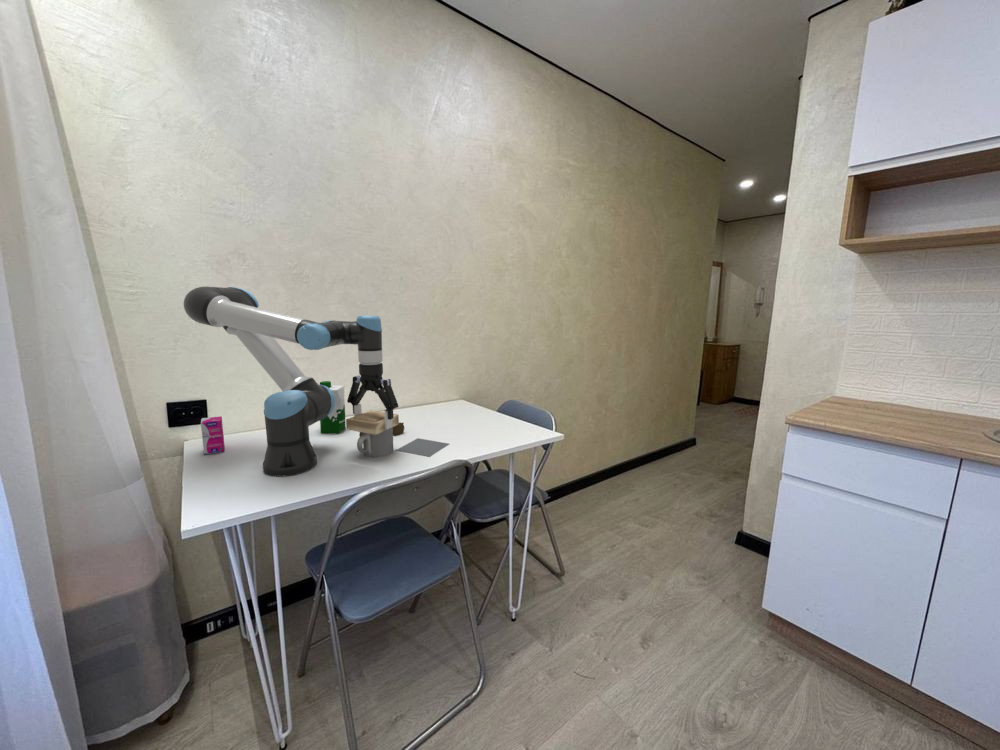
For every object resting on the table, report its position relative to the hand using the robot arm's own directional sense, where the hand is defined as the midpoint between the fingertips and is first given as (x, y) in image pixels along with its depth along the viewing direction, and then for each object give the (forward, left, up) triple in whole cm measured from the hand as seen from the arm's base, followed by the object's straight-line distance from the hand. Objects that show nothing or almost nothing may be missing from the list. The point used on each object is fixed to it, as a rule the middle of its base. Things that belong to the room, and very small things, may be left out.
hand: (373, 425), depth 135 cm
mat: (+12, -12, -10) cm, 20 cm away
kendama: (+17, +9, -11) cm, 22 cm away
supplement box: (-21, +51, -11) cm, 56 cm away
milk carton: (+13, +31, -11) cm, 35 cm away
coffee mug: (0, 0, -11) cm, 11 cm away
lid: (0, 0, 0) cm, 0 cm away
